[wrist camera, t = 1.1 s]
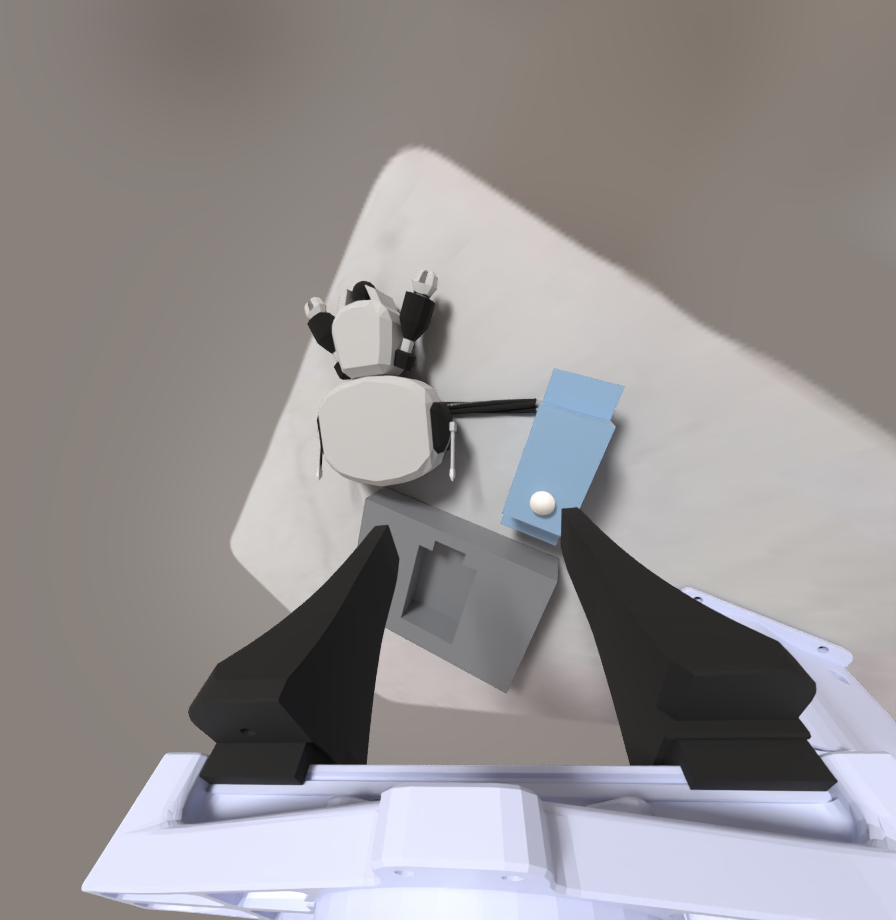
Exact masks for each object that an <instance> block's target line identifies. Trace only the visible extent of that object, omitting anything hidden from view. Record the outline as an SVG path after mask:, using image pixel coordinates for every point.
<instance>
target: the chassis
mask: <svg viewBox="0 0 896 920" xmlns="http://www.w3.org/2000/svg"><path fill="white" fill-rule="evenodd" d="M379 525H389V528H390V531H391V534H392V537H393V540H394V543H395V546H396V549H397V552H398V555H399V558H400V560H399V569H398V577H397V583H396V587H395V591H394V595H393V599H392V603H391V607H390V610H389V614H388V618H387V622H386V626H385V628H387V629H389V630H391V631H393V632H394V633H396V634H398V635H400V636H402V637H404V638H405V639H407V640H409V641H411V642H413V643H415V644H416V645H418V646H420V647H422V648H424V649H426V650H427V651H429V652H431V653H433V654H435V655H437V656H438V657H440V658H442V659H444V660H446V661H448V662H449V663H451V664H453V665H455V666H457V667H459V668H460V669H462V670H464V671H466V672H468V673H470V674H471V675H473V676H475V677H477V678H479V679H481V680H482V681H484V682H486V683H488V684H490V685H492V686H493V687H495V688H497V689H499V690H501V691H503V692H504V693H507V691H508V689H509V687H510V684H511V682H512V680H513V678H514V676H515V673H516V671H517V669H518V667H519V665H520V662H521V660H522V658H523V656H524V654H525V652H526V649H527V647H528V645H529V643H530V641H531V638H532V636H533V634H534V632H535V630H536V627H537V625H538V623H539V621H540V619H541V616H542V614H543V612H544V610H545V608H546V606H547V603H548V601H549V599H550V597H551V595H552V592H553V590H554V588H555V586H556V584H557V581H558V562H559V559H558V558H556V557H554V556H551V555H549V554H546V553H544V552H541V551H539V550H537V549H534V548H532V547H529V546H527V545H524V544H522V543H520V542H517V541H515V540H512V539H510V538H507V537H505V536H503V535H500V534H498V533H495V532H493V531H490V530H488V529H486V528H483V527H481V526H478V525H476V524H474V523H471V522H469V521H466V520H464V519H461V518H459V517H457V516H454V515H452V514H449V513H447V512H444V511H442V510H440V509H437V508H435V507H432V506H430V505H427V504H425V503H423V502H420V501H418V500H415V499H413V498H410V497H408V496H406V495H403V494H401V493H398V492H396V491H393V490H391V489H389V488H386V487H383V488H382V489H380V490H379V491H377V492H375V493H374V494H372V495H371V496H369V497H367V498H366V499H365V505H364V511H363V517H362V523H361V528H360V534H359V540H358V546H359V544H360V543H361V542H362V541H363V540H364V538H365V537H366V536H367V535H368V533H369V532H370V531H371V530H372V529H373V528H374V526H379ZM358 546H357V547H358Z"/></svg>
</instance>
